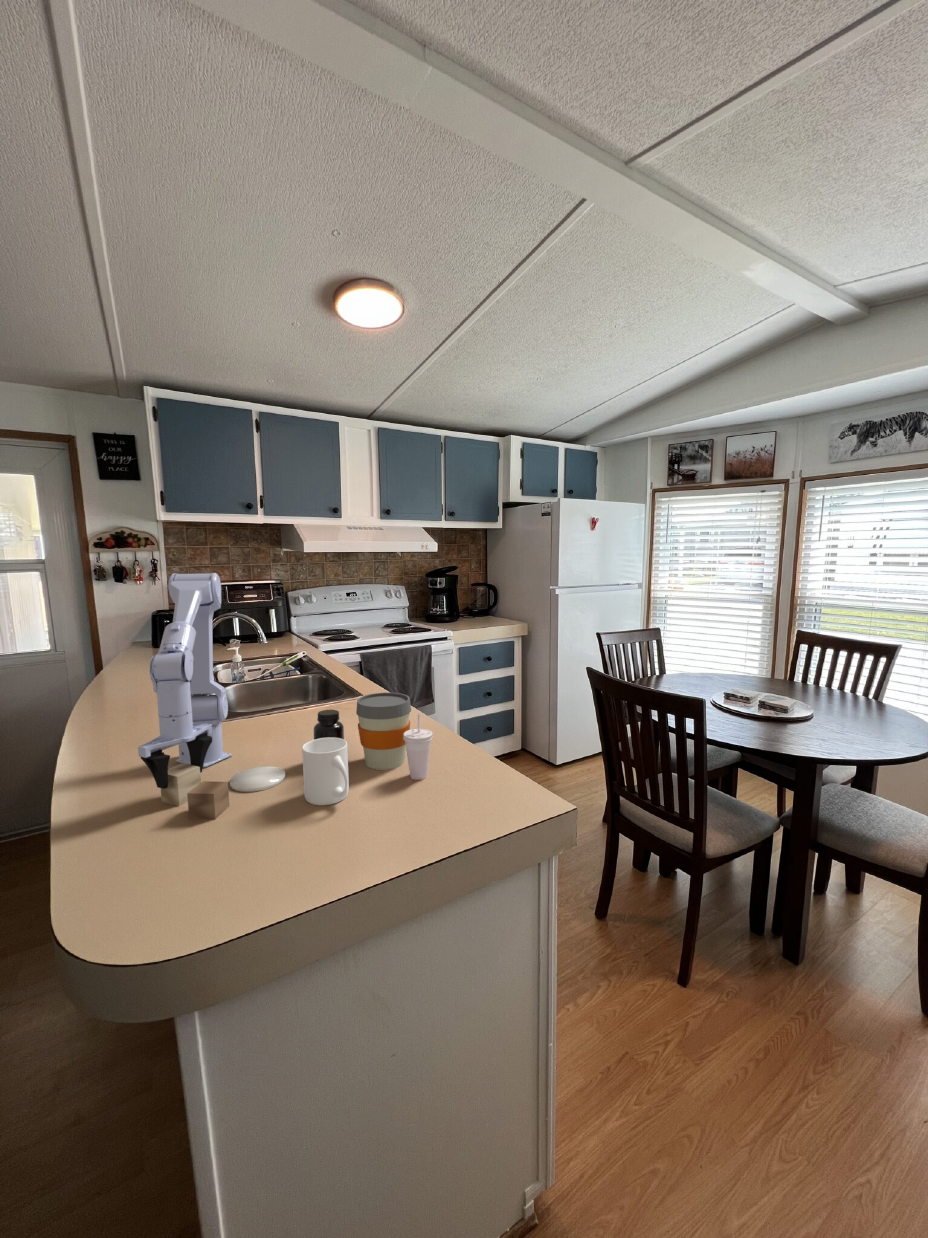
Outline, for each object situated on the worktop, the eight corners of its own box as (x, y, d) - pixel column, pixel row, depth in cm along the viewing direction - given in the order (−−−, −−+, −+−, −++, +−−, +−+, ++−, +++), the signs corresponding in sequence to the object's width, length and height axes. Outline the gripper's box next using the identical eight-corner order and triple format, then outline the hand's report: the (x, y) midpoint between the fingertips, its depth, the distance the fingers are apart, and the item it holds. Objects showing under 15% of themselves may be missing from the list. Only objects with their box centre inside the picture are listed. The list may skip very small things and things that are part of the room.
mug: (326, 818, 94) (324, 762, 93) (296, 796, 102) (294, 744, 101) (366, 802, 100) (365, 749, 98) (335, 783, 108) (333, 734, 107)
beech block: (161, 801, 101) (159, 772, 100) (184, 791, 105) (182, 763, 105) (179, 806, 99) (177, 776, 98) (201, 795, 103) (199, 766, 103)
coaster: (218, 786, 107) (217, 783, 107) (258, 766, 117) (258, 763, 117) (258, 796, 103) (258, 792, 103) (296, 774, 113) (296, 771, 113)
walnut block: (189, 819, 94) (187, 793, 93) (204, 806, 99) (202, 781, 98) (215, 819, 94) (213, 793, 93) (229, 806, 99) (227, 781, 98)
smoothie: (438, 773, 113) (437, 711, 111) (424, 784, 107) (423, 720, 105) (413, 768, 116) (412, 708, 114) (398, 779, 110) (396, 716, 108)
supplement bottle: (336, 769, 115) (334, 717, 114) (309, 766, 117) (306, 716, 115) (349, 757, 122) (347, 708, 121) (323, 755, 124) (321, 707, 122)
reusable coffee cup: (401, 748, 128) (400, 689, 126) (420, 766, 117) (419, 702, 115) (351, 757, 122) (349, 696, 120) (366, 777, 111) (364, 710, 109)
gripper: (154, 726, 92) (160, 798, 93) (221, 705, 105) (225, 768, 107) (128, 722, 94) (134, 792, 96) (196, 701, 108) (200, 763, 109)
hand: (180, 779), depth 101 cm, fingers open, 7 cm apart
